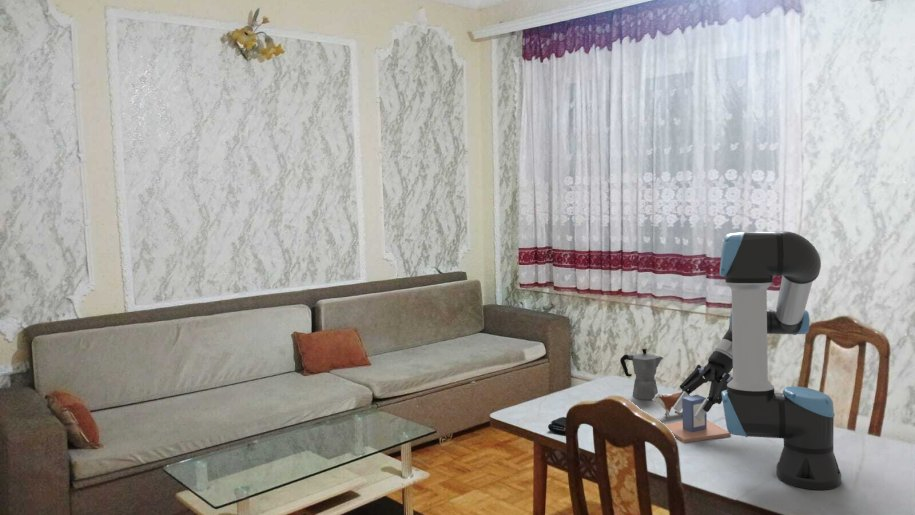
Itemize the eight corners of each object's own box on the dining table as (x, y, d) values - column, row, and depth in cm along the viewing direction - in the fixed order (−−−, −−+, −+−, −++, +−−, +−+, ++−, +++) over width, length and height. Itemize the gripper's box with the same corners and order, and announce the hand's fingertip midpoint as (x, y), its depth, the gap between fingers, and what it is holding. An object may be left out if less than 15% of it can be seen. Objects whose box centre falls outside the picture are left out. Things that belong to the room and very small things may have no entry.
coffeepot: (663, 393, 260) (662, 345, 258) (664, 400, 251) (663, 351, 249) (621, 391, 264) (620, 345, 262) (620, 399, 255) (619, 351, 253)
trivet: (730, 435, 214) (730, 432, 214) (684, 442, 210) (684, 439, 210) (704, 421, 228) (704, 418, 228) (660, 427, 224) (660, 424, 224)
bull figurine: (650, 415, 236) (650, 392, 235) (684, 410, 240) (684, 387, 239) (658, 419, 232) (657, 395, 231) (692, 413, 236) (692, 390, 235)
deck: (691, 432, 216) (691, 401, 215) (682, 428, 220) (682, 397, 219) (706, 428, 218) (706, 397, 217) (697, 425, 222) (697, 394, 221)
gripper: (757, 371, 213) (718, 431, 209) (706, 357, 233) (669, 411, 228) (744, 356, 211) (704, 417, 206) (694, 343, 230) (656, 398, 226)
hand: (686, 414), depth 217 cm, fingers open, 9 cm apart
